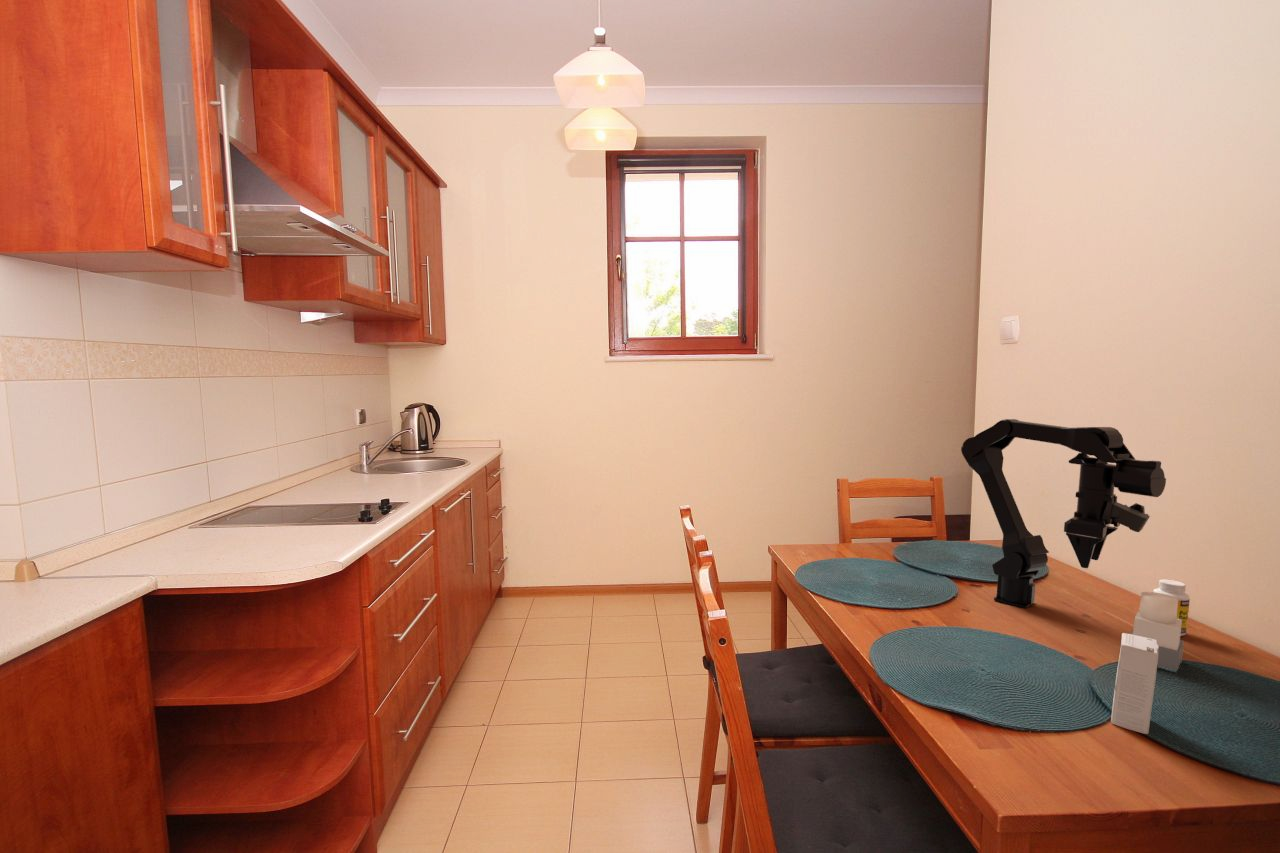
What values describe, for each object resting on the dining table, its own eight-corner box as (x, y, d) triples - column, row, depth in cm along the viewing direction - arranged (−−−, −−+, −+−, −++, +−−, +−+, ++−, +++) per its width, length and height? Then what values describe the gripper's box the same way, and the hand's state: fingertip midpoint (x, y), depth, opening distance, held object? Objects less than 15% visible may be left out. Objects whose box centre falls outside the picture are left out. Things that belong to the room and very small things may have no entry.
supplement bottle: (1181, 639, 118) (1185, 588, 117) (1145, 629, 122) (1150, 580, 122) (1190, 633, 121) (1195, 584, 120) (1155, 624, 125) (1159, 576, 125)
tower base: (1125, 660, 108) (1126, 638, 108) (1131, 649, 113) (1133, 628, 112) (1176, 674, 103) (1178, 651, 103) (1181, 662, 108) (1183, 641, 107)
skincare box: (1112, 708, 91) (1119, 630, 90) (1151, 719, 88) (1158, 639, 87) (1110, 724, 86) (1117, 643, 85) (1151, 737, 83) (1159, 652, 82)
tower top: (1132, 639, 107) (1134, 617, 107) (1136, 630, 112) (1138, 609, 111) (1177, 650, 103) (1179, 628, 103) (1179, 641, 107) (1181, 619, 107)
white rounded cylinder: (1137, 617, 107) (1139, 596, 107) (1141, 611, 111) (1143, 590, 110) (1174, 626, 104) (1176, 603, 103) (1177, 619, 107) (1179, 597, 107)
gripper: (1139, 499, 109) (1132, 583, 110) (1154, 489, 122) (1147, 564, 123) (1066, 490, 117) (1060, 568, 118) (1087, 482, 130) (1081, 552, 131)
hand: (1089, 563), depth 123 cm, fingers open, 9 cm apart
